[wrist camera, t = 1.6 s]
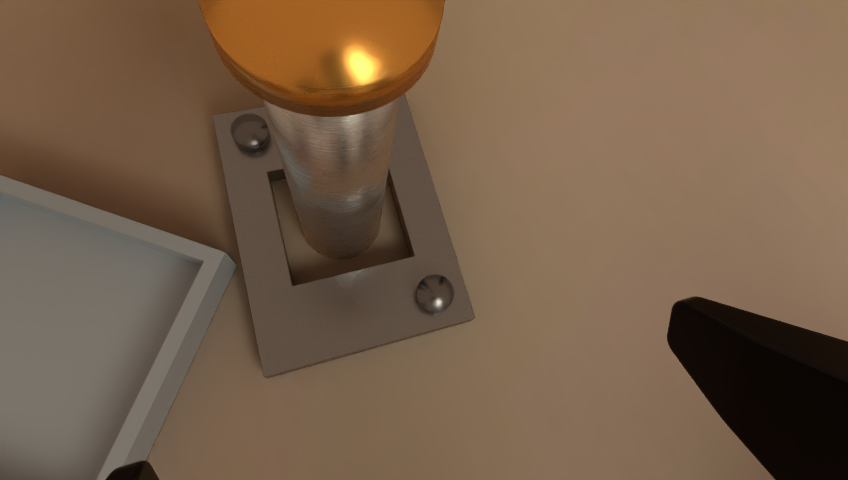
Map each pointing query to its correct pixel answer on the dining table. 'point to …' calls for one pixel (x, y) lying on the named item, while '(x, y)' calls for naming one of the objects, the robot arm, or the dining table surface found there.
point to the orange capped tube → (329, 97)
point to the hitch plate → (347, 293)
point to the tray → (93, 332)
